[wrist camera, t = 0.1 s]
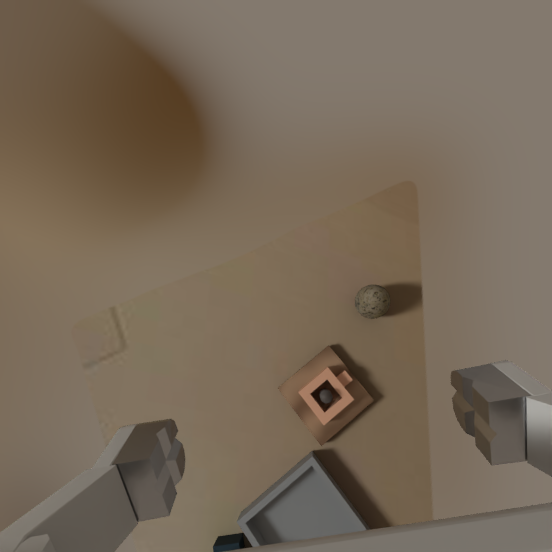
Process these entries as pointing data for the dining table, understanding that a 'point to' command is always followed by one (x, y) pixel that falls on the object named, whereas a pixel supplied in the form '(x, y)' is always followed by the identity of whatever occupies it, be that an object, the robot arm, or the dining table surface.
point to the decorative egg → (372, 301)
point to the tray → (300, 508)
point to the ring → (338, 385)
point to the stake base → (306, 410)
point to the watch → (229, 543)
